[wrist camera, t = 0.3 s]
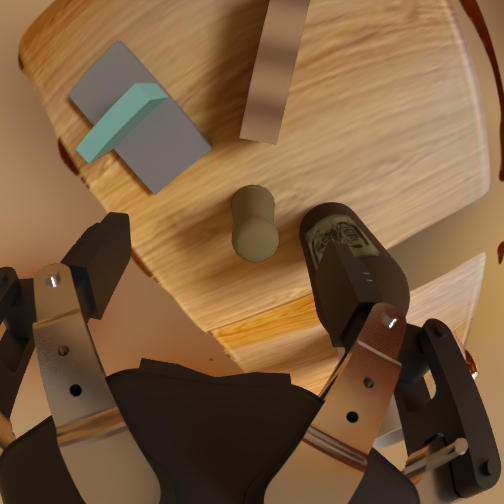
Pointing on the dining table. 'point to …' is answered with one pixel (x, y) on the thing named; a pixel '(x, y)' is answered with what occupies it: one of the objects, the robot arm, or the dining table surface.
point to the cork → (254, 223)
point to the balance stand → (136, 119)
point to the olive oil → (361, 244)
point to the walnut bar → (273, 70)
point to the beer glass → (467, 357)
